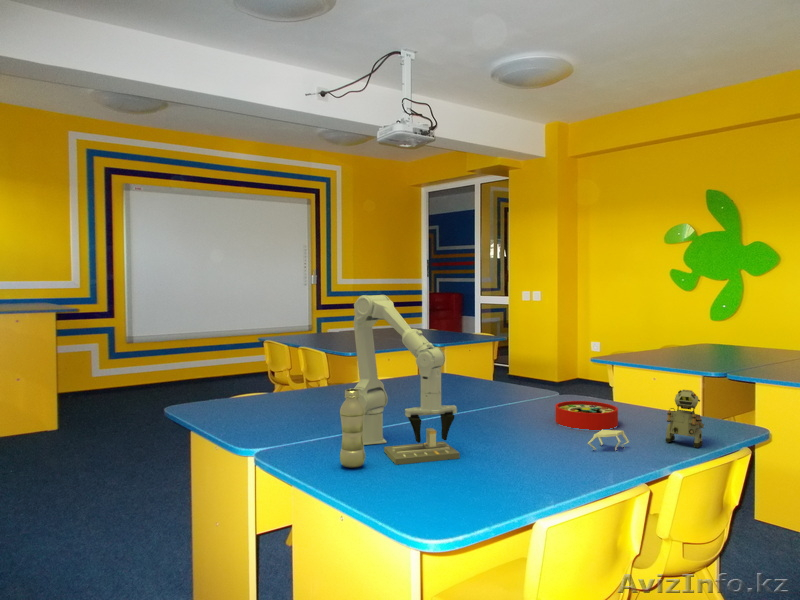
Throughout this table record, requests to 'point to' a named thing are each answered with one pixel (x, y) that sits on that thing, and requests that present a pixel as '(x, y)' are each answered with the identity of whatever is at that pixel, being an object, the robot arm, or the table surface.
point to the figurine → (685, 418)
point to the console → (420, 453)
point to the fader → (430, 439)
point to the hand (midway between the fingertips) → (431, 440)
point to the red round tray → (586, 415)
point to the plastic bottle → (352, 430)
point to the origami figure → (608, 434)
